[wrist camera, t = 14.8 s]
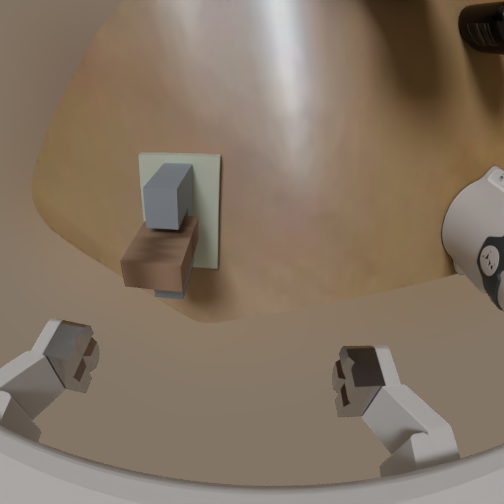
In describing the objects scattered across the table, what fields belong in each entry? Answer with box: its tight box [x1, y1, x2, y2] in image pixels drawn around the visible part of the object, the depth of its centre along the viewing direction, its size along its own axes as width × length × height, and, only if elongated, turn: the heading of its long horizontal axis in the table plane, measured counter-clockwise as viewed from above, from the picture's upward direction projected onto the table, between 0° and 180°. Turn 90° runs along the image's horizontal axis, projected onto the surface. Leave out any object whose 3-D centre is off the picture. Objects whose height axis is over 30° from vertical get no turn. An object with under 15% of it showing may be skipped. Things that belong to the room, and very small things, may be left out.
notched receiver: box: [139, 153, 221, 299], centre depth 38 cm, size 10×16×9 cm, turn 176°
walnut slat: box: [120, 216, 199, 292], centre depth 34 cm, size 6×3×10 cm, turn 86°
